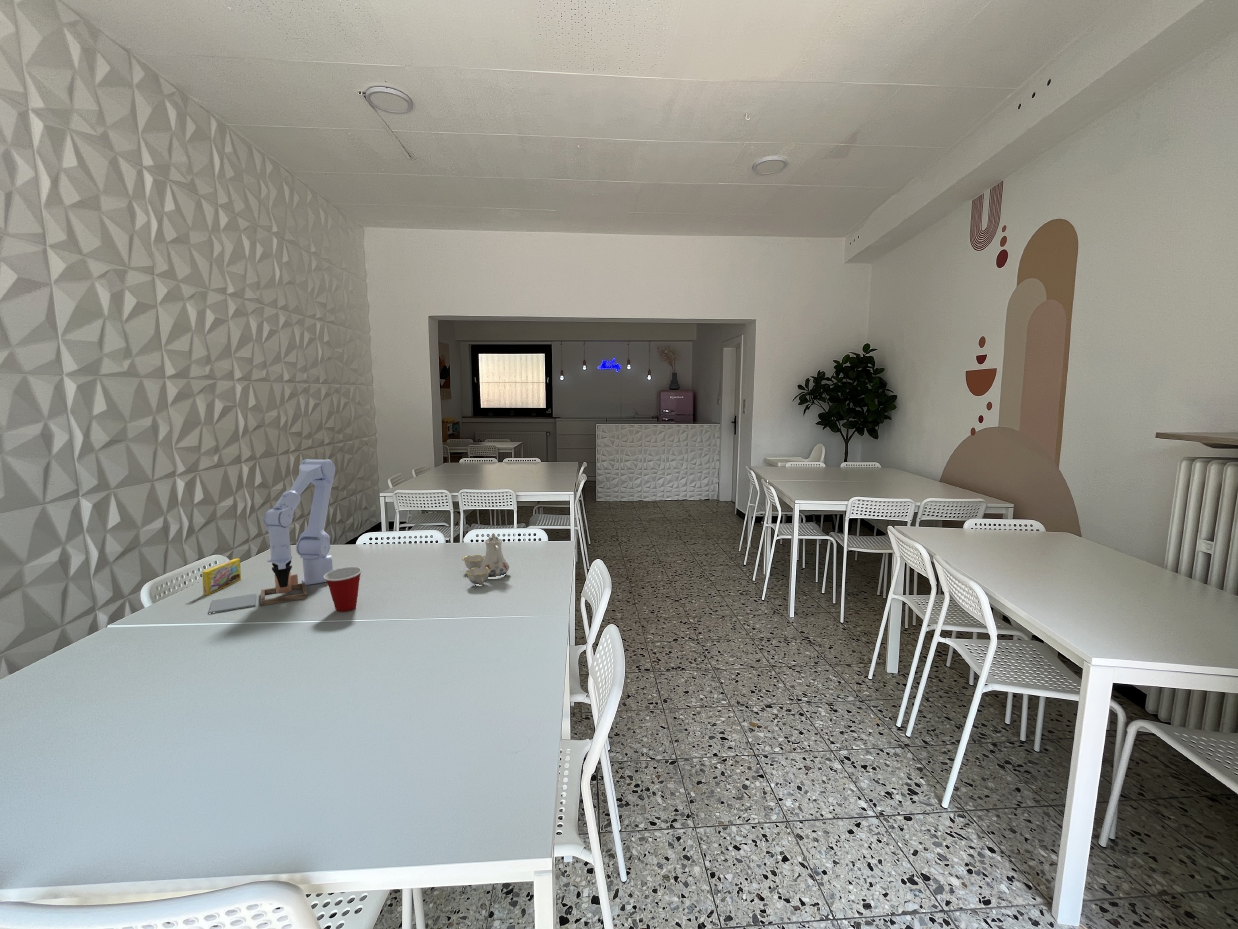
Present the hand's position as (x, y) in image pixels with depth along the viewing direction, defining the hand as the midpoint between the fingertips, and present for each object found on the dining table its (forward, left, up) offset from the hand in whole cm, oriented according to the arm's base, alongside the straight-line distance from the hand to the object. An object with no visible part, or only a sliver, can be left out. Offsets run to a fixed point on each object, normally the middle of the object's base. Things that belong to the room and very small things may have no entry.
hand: (283, 584), depth 187 cm
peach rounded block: (0, 0, -2) cm, 2 cm away
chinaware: (-64, +17, -4) cm, 66 cm away
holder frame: (0, 0, -4) cm, 4 cm away
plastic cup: (-16, +24, -4) cm, 29 cm away
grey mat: (+14, 0, -4) cm, 15 cm away
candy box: (+18, -22, -4) cm, 29 cm away
